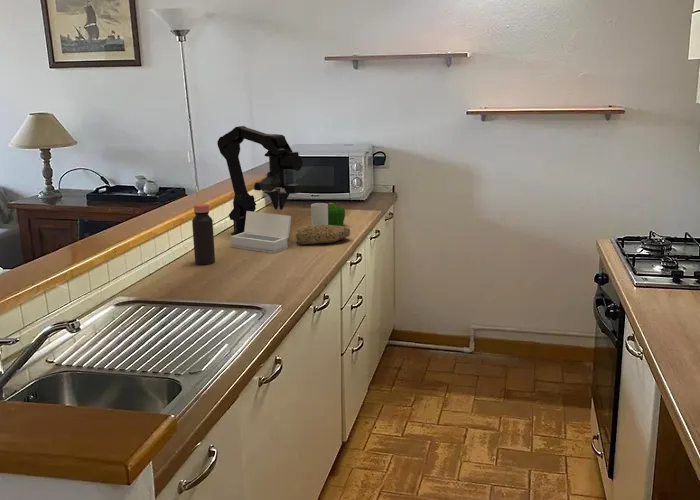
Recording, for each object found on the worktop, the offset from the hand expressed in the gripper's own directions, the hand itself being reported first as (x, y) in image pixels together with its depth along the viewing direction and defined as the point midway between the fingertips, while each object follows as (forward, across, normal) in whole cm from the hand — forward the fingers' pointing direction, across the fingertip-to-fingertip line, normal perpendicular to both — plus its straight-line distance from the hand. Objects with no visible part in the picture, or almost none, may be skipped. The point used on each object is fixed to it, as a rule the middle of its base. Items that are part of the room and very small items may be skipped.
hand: (278, 209), depth 266 cm
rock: (+12, +17, +5) cm, 21 cm away
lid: (+4, 0, -8) cm, 9 cm away
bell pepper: (+12, +6, +31) cm, 34 cm away
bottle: (+12, -4, -38) cm, 40 cm away
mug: (+12, +8, +17) cm, 22 cm away
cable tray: (+12, 0, -13) cm, 18 cm away
